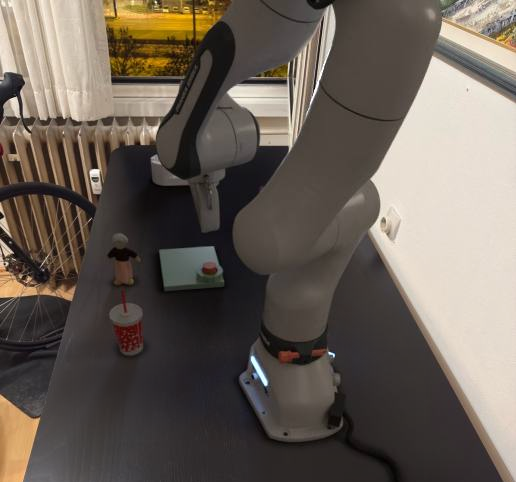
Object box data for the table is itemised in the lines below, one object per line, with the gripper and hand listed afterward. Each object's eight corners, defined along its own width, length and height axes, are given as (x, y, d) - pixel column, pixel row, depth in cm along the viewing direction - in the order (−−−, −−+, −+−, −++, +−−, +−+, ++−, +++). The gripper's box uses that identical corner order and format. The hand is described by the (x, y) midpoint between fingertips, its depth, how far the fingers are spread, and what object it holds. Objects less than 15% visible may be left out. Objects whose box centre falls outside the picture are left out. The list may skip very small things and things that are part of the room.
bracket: (153, 186, 150) (151, 165, 146) (151, 174, 156) (150, 154, 152) (216, 184, 154) (216, 163, 150) (212, 172, 160) (212, 152, 156)
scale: (224, 286, 114) (224, 276, 111) (164, 291, 111) (163, 280, 109) (213, 250, 125) (213, 240, 123) (159, 254, 122) (158, 244, 120)
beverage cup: (131, 333, 99) (122, 277, 90) (153, 345, 97) (146, 290, 88) (109, 349, 96) (97, 293, 86) (131, 362, 93) (121, 306, 84)
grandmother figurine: (109, 288, 110) (101, 239, 102) (109, 278, 113) (100, 230, 104) (143, 284, 112) (138, 236, 103) (142, 275, 115) (136, 228, 106)
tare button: (217, 274, 112) (217, 268, 111) (203, 275, 112) (203, 269, 111) (215, 267, 115) (215, 260, 114) (201, 267, 114) (201, 261, 113)
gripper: (227, 187, 87) (227, 253, 97) (211, 147, 102) (212, 207, 111) (193, 189, 86) (195, 255, 95) (181, 147, 101) (185, 208, 110)
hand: (204, 229), depth 103 cm, fingers closed
